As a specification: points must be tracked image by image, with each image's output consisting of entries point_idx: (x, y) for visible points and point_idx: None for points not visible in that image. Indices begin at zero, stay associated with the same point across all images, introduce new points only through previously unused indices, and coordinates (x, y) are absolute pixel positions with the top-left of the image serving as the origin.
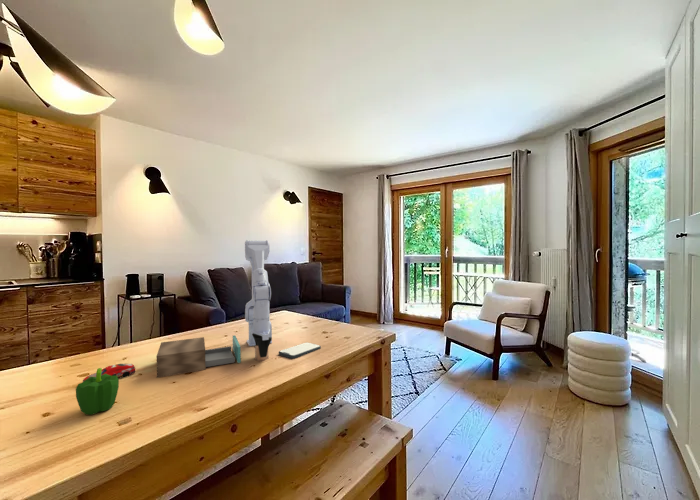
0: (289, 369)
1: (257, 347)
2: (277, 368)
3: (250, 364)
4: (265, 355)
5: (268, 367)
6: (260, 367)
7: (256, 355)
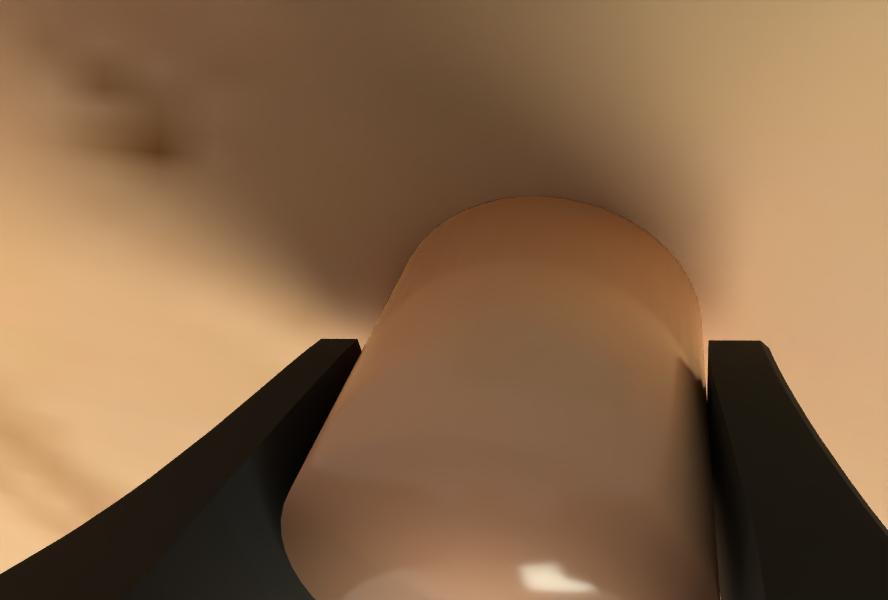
0: (28, 509)
1: (375, 480)
2: (42, 425)
3: (206, 67)
4: None
5: (66, 343)
6: (54, 238)
7: (417, 287)
